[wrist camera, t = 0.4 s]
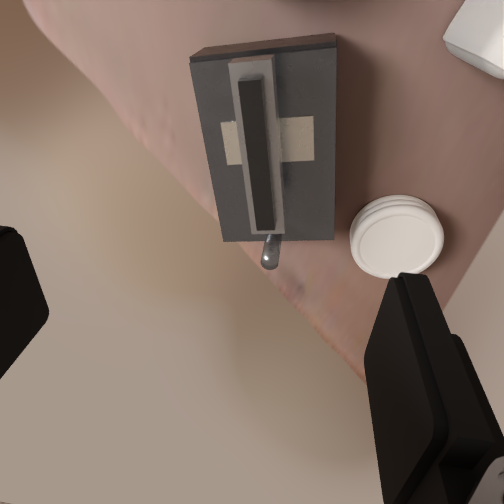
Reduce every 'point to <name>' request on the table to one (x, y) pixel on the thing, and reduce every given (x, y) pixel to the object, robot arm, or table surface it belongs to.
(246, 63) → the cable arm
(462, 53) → the photo printer
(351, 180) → the table surface
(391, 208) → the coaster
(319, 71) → the grey lever box
